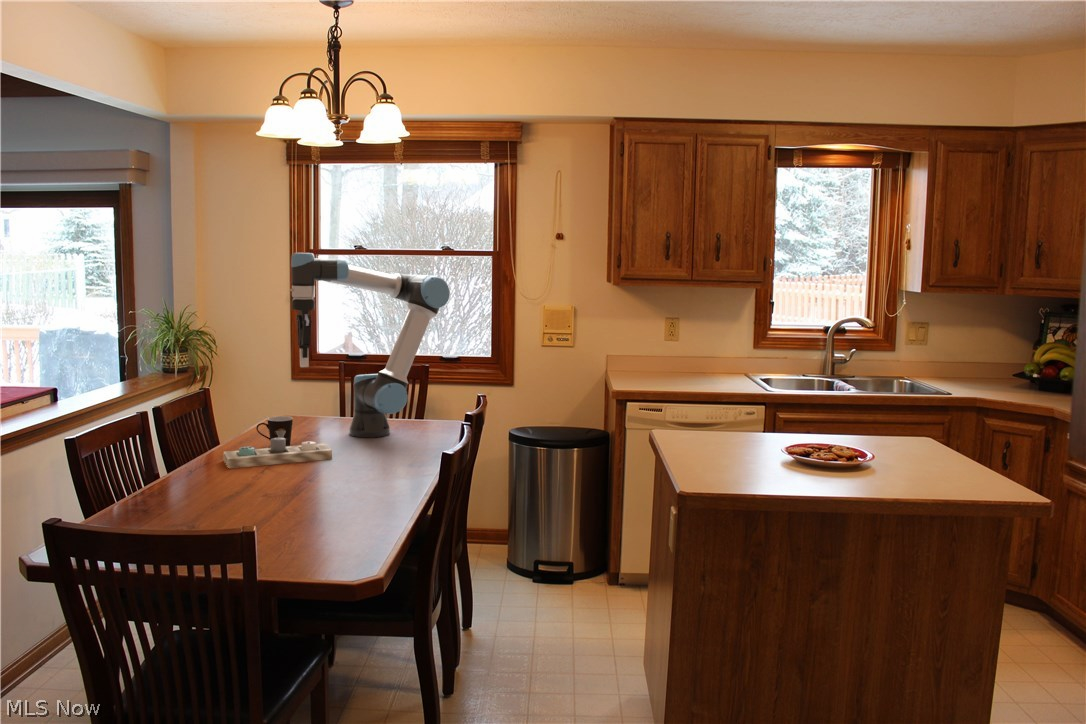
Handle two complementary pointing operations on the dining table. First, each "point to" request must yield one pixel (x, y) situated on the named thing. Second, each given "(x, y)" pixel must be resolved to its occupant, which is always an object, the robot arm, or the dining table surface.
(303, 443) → the button
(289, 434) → the coffee mug
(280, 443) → the gray dotted rounded cylinder
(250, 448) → the button
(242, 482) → the dining table surface
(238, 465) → the wooden compartment tray
